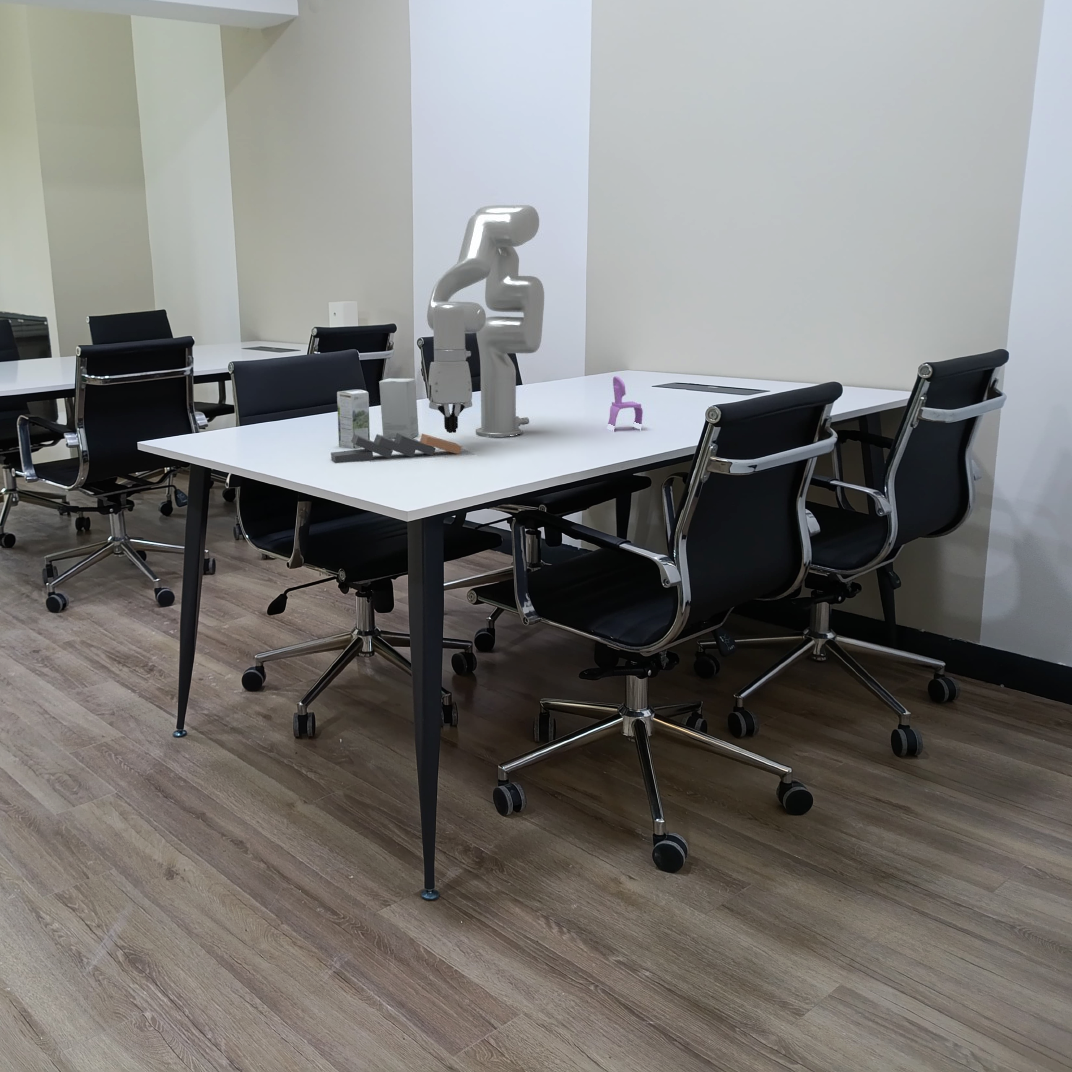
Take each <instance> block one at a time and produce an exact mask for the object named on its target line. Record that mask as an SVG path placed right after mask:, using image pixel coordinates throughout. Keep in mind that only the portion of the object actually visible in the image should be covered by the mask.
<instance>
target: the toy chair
mask: <svg viewBox="0 0 1072 1072" xmlns="http://www.w3.org/2000/svg"><path fill="white" fill-rule="evenodd" d="M612 386H613V396H614V401H612V402H611V406H610V408H609V418H608V423H607V424H611V425H613V426H615V427H616V423H617V418H618V414H619V412H620V410H623V409H629V408H630V409H633V410H634V421H633V423H634V422H636V423H639V424H642V425H643V415H644V414H643V413H644V412H643V411H644V410H643V407H642V404H641V403H638V402H635V401H623V397H624V396H626V395H627V393H626V385H625V382H624V380H622V378H620V376H613V379H612Z"/></svg>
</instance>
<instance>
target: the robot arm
mask: <svg viewBox="0 0 1072 1072" xmlns="http://www.w3.org/2000/svg"><path fill="white" fill-rule="evenodd" d="M539 227H540V217H539V213H538V211H537V209H536V208H535V207H534V206H532V205H530V204H528V205H527V204H522V205H521V204H519V205H518V204H515V205H514V204H511V205H505V204H504V205H503V204H501V205H486V206H482V207H480V208H478V209H477V210H476V211H475V214H473V215H472V216H471V217H470V218H469V219H468V221H467V224H466V228H465V233H464V236H463V240H462V244H461V248H460V251H459V256H458V260H457V262H456V263H455V264H454V265H452V267H451V268H449V269H448V270H447V271H446V272H445V273H444V274H443V275H441V277H440V278H439V279H438V281H437V282H436V283H435V285H434V287H433V289H432V291H431V295H430V299H429V301H428V302H429V303H428V307H427V312H426V319H427V320H426V321H427V324H428V327H429V328H430V330H432V331H433V357H434V358H433V361H431V362H430V365H429V371H428V372H429V373H428V386H427V397H428V401H429V404H428V408H429V409H431V410H435V411H439V413H441V414H442V415H443V420H444V421H443V422H444V423H443V424H444V430H446V433H449V434H452V433H454V434H456V433H457V429H458V428H459V416H460V414H461V413H462V412H463V411H464V410H465V409H468V408H472V407H473V401H472V400H473V386H472V384H473V383H472V377H471V372H470V371H471V370H470V365H469V362H468V361H466V360H467V358H468V357H471V355H472V351H471V350H467V349H466V334H476V340H477V346H478V352H479V361H480V362H479V363H480V365H479V366H480V419H481V421H480V422H481V423H480V424H481V426H480V427H478V428H477V429H475V434H476V435H477V436H481V437H486V436H489V438H495V437H494V436H510V435H516V434H520V435H522V433H523V432H522V431H523V430H522V429H521V428H520V426H521V425H522V426H524V425H528V424H530V419H529V418H528V417H525V416H524V417H521V418H520V417H519V415H518V416H517V394H516V393H517V387H516V386H517V380H516V379H517V376H516V375H517V374H516V373H517V370H516V366H515V364H514V362H513V361H512V359H511V357H510V356H509V355H508V354H533V353H536V352H537V351H538V350H539V349H540V347H541V343H542V337H543V326H544V325H543V321H544V308H545V288H544V285H543V283H542V281H541V280H540V279H539V277H536V276H534V275H533V276H532V275H519V266H520V257H519V255H518V252H517V251H516V249H515V247H516V248H517V247H519V246H523V245H524V244H525V243H527V242H529V241H531V240H533V238H535V236H536V235H537V233H538V232H539V229H540V228H539ZM483 280H485V291H484V293H485V294H484V300H485V306H486V307H487V308H488V309H489V310H490V311H493V312H499V313H523V316H500V315H499V316H489V317H487V316H486V311H485V309H484V308H483V306H482V305H481V304H479V303H476V302H472V301H450V299H451V298H452V297H453V296H454V295H455V294H457V292H459V291H461V290H463V289H466V288H468V287H470V286H472V285H474V284H477V283H480V282H481V281H483ZM450 405H451V406H452V407H451V412H450ZM490 436H491V437H490Z"/></svg>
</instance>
